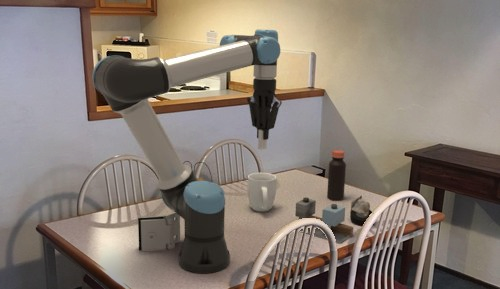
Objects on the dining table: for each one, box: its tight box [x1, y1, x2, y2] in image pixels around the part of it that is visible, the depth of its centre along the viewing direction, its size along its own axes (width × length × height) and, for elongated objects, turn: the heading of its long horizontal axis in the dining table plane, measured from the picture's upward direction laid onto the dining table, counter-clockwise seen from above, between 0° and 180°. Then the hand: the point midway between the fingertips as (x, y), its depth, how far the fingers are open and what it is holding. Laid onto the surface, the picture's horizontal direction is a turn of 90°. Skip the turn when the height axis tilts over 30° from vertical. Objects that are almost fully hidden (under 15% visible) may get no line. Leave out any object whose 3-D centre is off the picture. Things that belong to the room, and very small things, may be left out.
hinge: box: [137, 212, 181, 252], centre depth 157 cm, size 14×5×10 cm, turn 116°
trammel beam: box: [294, 196, 354, 238], centre depth 174 cm, size 7×20×9 cm, turn 52°
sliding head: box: [321, 203, 346, 229], centre depth 172 cm, size 7×5×8 cm
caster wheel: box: [349, 195, 373, 227], centre depth 183 cm, size 7×11×10 cm
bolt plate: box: [299, 228, 351, 244], centre depth 172 cm, size 7×20×1 cm, turn 52°
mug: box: [247, 172, 277, 213], centre depth 189 cm, size 15×11×13 cm
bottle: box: [326, 149, 347, 202], centre depth 204 cm, size 7×7×20 cm
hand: (262, 148), depth 167 cm, fingers closed
